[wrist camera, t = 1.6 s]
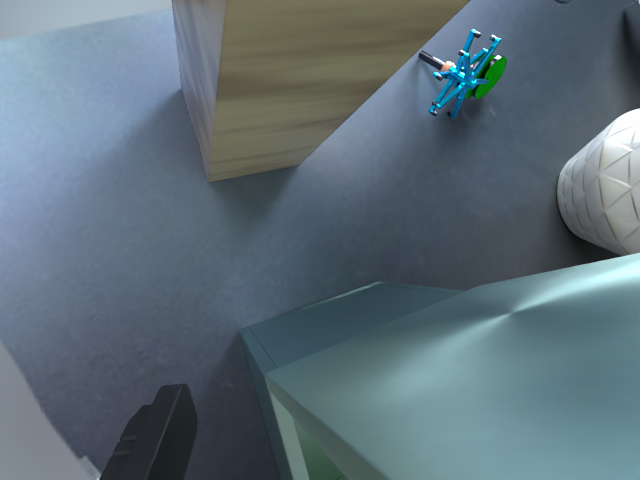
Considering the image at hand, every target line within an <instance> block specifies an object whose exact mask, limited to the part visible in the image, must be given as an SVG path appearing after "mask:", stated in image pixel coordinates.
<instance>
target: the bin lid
mask: <svg viewBox="0 0 640 480" xmlns="http://www.w3.org/2000/svg"><path fill="white" fill-rule="evenodd" d="M265 377H266V380H267V384H268V387H269V390H270V392H271V393H272V394H273V395H274V397H275V398H276V399H277V400H278V401H279V402H280V403H281V404H282V405H283V407H284V408H285V409H286V410H287V411H288V412H289V413H290V414H291V416H292V417H293V418H294V419H295V420H296V421H297V422H298V423H299V425H300V426H301V427H302V428H303V429H304V430H305V431H306V432H307V434H308V435H309V436H310V437H311V438H312V439H313V440H314V441H315V443H316V444H317V445H318V446H319V447H320V448H321V449H322V450H323V452H324V453H325V454H326V455H327V456H328V457H329V458H330V459H331V460H332V462H333V463H334V464H335V465H336V466H337V467H338V468H339V469H340V471H341V472H342V473H343V474H344V475H345V476H346V477H347V478H348V480H640V253H637V254H632V255H627V256H622V257H618V258H613V259H608V260H603V261H598V262H593V263H588V264H583V265H578V266H573V267H569V268H564V269H559V270H554V271H549V272H544V273H539V274H534V275H529V276H524V277H519V278H515V279H510V280H505V281H500V282H495V283H490V284H485V285H480V286H477V287H475V288H472V289H470V290H467V291H465V292H463V293H460V294H458V295H455V296H453V297H450V298H448V299H446V300H443V301H441V302H438V303H436V304H433V305H431V306H428V307H426V308H424V309H421V310H419V311H416V312H414V313H411V314H409V315H407V316H404V317H402V318H399V319H397V320H394V321H392V322H390V323H387V324H385V325H382V326H380V327H377V328H375V329H372V330H370V331H368V332H365V333H363V334H360V335H358V336H355V337H353V338H351V339H348V340H346V341H343V342H341V343H338V344H336V345H334V346H331V347H329V348H326V349H324V350H321V351H319V352H317V353H314V354H312V355H309V356H307V357H304V358H302V359H299V360H297V361H295V362H292V363H290V364H287V365H285V366H282V367H280V368H278V369H275V370H273V371H270V372H268V373H266V374H265Z"/></svg>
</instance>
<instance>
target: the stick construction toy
mask: <svg viewBox="0 0 640 480" xmlns="http://www.w3.org/2000/svg"><path fill="white" fill-rule="evenodd" d="M480 36H481V33H479V32H477V31H475V30H471V31H470V33H469V36H468V38H467V41H466V43H465V46H464V48H463V51H462V50H461V51H459V55H460V58H459V60H458V63H457V65H455V64H453V63H452V62H450V61H447V62H446V63H444V62H442V61H441V60H439V59H437V58H435V57H434V56H432V55H430V54H428V53H427V52H425V51H421V52H420V53H419V56H418V58H419V59H421V60H423V61H424V62H426V63H428V64H430V65H431V66H433V67H435V68H436V69H438V70H440V72H435V73H434V74H433V77H435V78H436V79H438V80H440V81H441V80H442V79H449V81H448V82H447V84H446V85H445V87H444V88H443V90H442V91H441V93H440V94H439V96H438V97H437V99H436V100H435V101H433V102H432V106H431V108H430V109H429V111H428V112H429V113H431V114H432V115H434V116H436V115H437V112H435V111H434V110H435V108H436V107H437V108H438V109H440V108H442V107H443V106H444V105H445V104H447V103H448V102H449V101H450V100H452V99H453V98H454V97H455V96H456V97H457V98H458V100H457V102H456V105H455V107H454V110H453V112H452V113H451V112H450V111H449V112H448V113H447V115H448V116H450V117H451V118H453V119H454V118H455V117H456V115H457V113H458V110H459V108H460V106H461V104H462V102H463V101H464V99H465V98H469V97H471V96H472V95H473V97H475V98H477V99H479V98H481V97H483V96H484V95H485V94H487V93H488V92H489V91H490V90H491V89H492V88H493V86H494V85H495V84H496V83H497V81H498V80H499V79H500V77H501V76H502V74H503V72H504V69H505V66H506V61H507V60H506V57H504V56H502V55H498V56H496V57H495V56H494V55H492V53H493V51H494V50H495V49H496V47H497V46H498V44H499V43H500V41H501V39H499V38H497V37H495V36H491V37H490V40H491V41H493V42H494V43H493V44H492V45H491V47H490V48H489V49H488V50H486V49H483V50H481V51H480V52H479V53H478V54H476V55H475V56H474V57H473V58H471V59H470V55H469V54H468V52H469V49H470V46H471V44H472V41H473V38H474V37H476V38H479V37H480ZM484 54H485V55H484ZM483 55H484V56H483ZM476 61H477V62H476ZM475 62H476V63H475ZM474 63H475V64H474ZM473 64H474V65H473ZM463 73H464V74H463ZM453 84H454V88H455V89H454V90H453V91H452V92H451V93H450V94H449V95H448V96H447V97H445V98H444V96H445V95H446V93H447V92H448V91H449V89H450V88H451V87H452V85H453ZM443 98H444V99H443ZM442 99H443V100H442ZM441 100H442V101H441Z"/></svg>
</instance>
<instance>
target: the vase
mask: <svg viewBox="0 0 640 480" xmlns="http://www.w3.org/2000/svg"><path fill="white" fill-rule="evenodd" d="M557 201H558V207H559V210H560V213H561V216H562V218H563V220H564V222H565V224H566V225H567V227H568V228H569V229H570V231H571V232H572V233H574V234H575V235H576V236H578V237H579V238H581V239H583V240H586V241H588V242H591V243H593V244H595V245H598V246H600V247H602V248H605V249H607V250H609V251H612V252H614V253H616V254H619V255H621V256H627V255H632V254H637V253H640V109H636V110H633V111H630V112H627V113H625V114H623V115H622V116H620V117H618V118H617V119H616V120H615V121H613V122H612V123H611V124H610V125H609V126H608V127H607V128H605V129H604V130H603V131H602V132H601V133H600V134H599V135H597V136H596V137H595V138H594V139H593V140H592V141H591V142H589V143H588V144H587V145H586V146H585V147H584V148H583V149H582V150H580V151H579V152H578V153H577V154H576V155H575V156H574V157H572V158H571V159H570V160H569V161H568V162H567V163H566V164H565V165H564V167H563V169H562V171H561V173H560V176H559V179H558V184H557Z"/></svg>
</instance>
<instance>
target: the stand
mask: <svg viewBox="0 0 640 480" xmlns="http://www.w3.org/2000/svg"><path fill="white" fill-rule="evenodd" d="M469 1H470V0H172V6H173V15H174V24H175V33H176V42H177V52H178V61H179V70H180V79H181V87H182V91H183V94H184V98H185V101H186V105H187V109H188V112H189V116H190V119H191V123H192V127H193V130H194V134H195V137H196V141H197V144H198V148H199V152H200V155H201V159H202V162H203V166H204V170H205V173H206V177H207V180H208V182H214V181H219V180H225V179H230V178H235V177H240V176H246V175H251V174H256V173H262V172H267V171H272V170H277V169H283V168H288V167H293V166H299V165H300V164H301V163H302V162H303V161H304V160H305V159H306V158H307V157H308V156H309V155H310V154H311V153H312V152H313V151H315V150H316V149H317V148H318V147H319V146H320V145H321V144H322V143H323V142H324V141H325V140H326V139H327V138H328V137H329V136H330V135H331V134H332V133H333V132H334V131H335V130H336V129H337V128H338V127H339V126H340V125H342V124H343V123H344V122H345V121H346V120H347V119H348V118H349V117H350V116H351V115H352V114H353V113H354V112H355V111H356V110H357V109H358V108H359V107H360V106H361V105H362V104H363V103H364V102H365V101H366V100H367V99H369V98H370V97H371V96H372V95H373V94H374V93H375V92H376V91H377V90H378V89H379V88H380V87H381V86H382V85H383V84H384V83H385V82H386V81H387V80H388V79H389V78H390V77H391V76H392V75H393V74H395V73H396V72H397V71H398V70H399V69H400V68H401V67H402V66H403V65H404V64H405V63H406V62H407V61H408V60H409V59H410V58H411V57H412V56H413V55H414V54H415V53H416V52H417V51H418V50H419V49H420V48H422V47H423V46H424V45H425V44H426V43H427V42H428V41H429V40H430V39H431V38H432V37H433V36H434V35H435V34H436V33H437V32H438V31H439V30H440V29H441V28H442V27H443V26H444V25H445V24H446V23H447V22H449V21H450V20H451V19H452V18H453V17H454V16H455V15H456V14H457V13H458V12H459V11H460V10H461V9H462V8H463V7H464V6H465V5H466V4H467V3H468V2H469Z"/></svg>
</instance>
